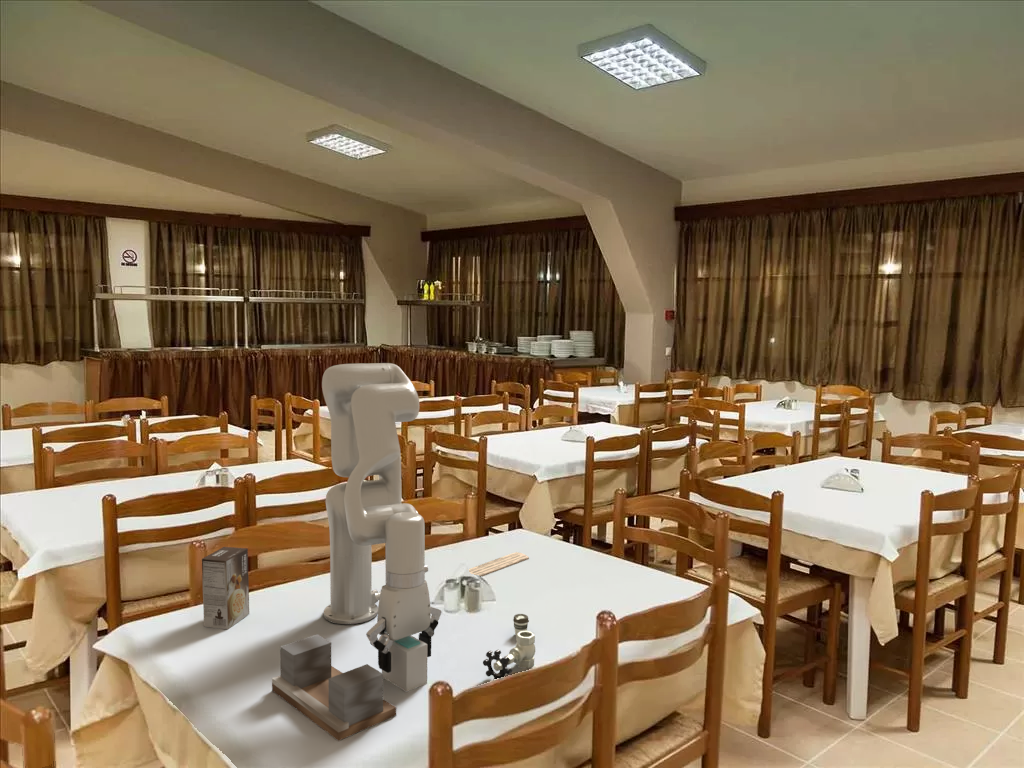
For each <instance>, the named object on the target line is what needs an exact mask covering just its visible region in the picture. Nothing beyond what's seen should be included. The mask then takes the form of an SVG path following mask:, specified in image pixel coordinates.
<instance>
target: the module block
mask: <svg viewBox="0 0 1024 768" xmlns="http://www.w3.org/2000/svg"><path fill="white" fill-rule="evenodd" d="M387 640H388V639H386V641H387ZM386 641H385V642H384V645H385V643H386ZM389 652H391V672H389V673H387V672H385V671H383V670H382V669H381V673H383V679H384V680H386V681H388V682H390V683H391V684H393V685H394V686H397V688H398V689H401V690H403V691H405V692H406V693H407V692H409V691H412V690H414V689H417V688H419V687H421V686H424V685H426V684H428V657H427V644H426V643H424V642H422V641H420V640H419V638H417V637H415V636H412V635H410V636H408V637H405V638H402V639H399V640H396V641H394V642H393V644H392V646H391V647H390V649H389Z"/></svg>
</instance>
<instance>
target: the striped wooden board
mask: <svg viewBox="0 0 1024 768" xmlns="http://www.w3.org/2000/svg"><path fill="white" fill-rule="evenodd" d="M529 559H530V557H529V556H527V555H526V554H524V553H522V552H517V551H516V552H511V553H509V554H506V555H503V556H501V557H498V558H495V559H492V560H490V561H488V562H485V563H481V564H478V565H476V566H473V567H471V568H469V572H470V573H471V574H474V575H479V576H482V577H485V576H488V575H490V574H493V573H495V572H498V571H500V570H504V569H505V568H509V567H511V566H515V565H517V564H519V563H522V562H524V561H528V560H529Z"/></svg>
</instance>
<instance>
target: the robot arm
mask: <svg viewBox="0 0 1024 768" xmlns="http://www.w3.org/2000/svg"><path fill="white" fill-rule="evenodd" d="M321 387H322V394H323V399H324V402H325V404H326V408H327V410H328V412H329V418H330V445H331V446H330V447H331V449H330V450H331V451H330V452H331V455H330V456H331V465H332V466H331V467H332V471H333V472H334V473H335V475H337V476H339V477H342V478H347V481H346V482H344V483H339V484H336V485H334V486H332V487H331V488H329V490H328V491H326V494H325V509H326V514H327V515H326V516H327V520H328V528H329V554H330V555H329V556H330V557H329V558H330V559H329V560H330V565H329V569H330V570H329V571H330V573H329V574H330V576H329V577H330V581H329V582H330V583H329V584H330V586H329V587H330V603H329V604H328V605H327V606H326V607H325V608H324V610H323V618H324V619H326V620H327V621H328V622H331V623H333V624H339V625H354V624H356V625H357V624H361V623H365V622H368V621H370V620H373V619H374V618H376V616H377V619H376V621H377V622H376V623H375V624H374V625H373V626H372V627H371V628H370V629H369V630H368V631H367V632H366V634H365V635H366V637H367V640H368V641H369V643H370V645H371V646H372V647H373V648H375V649H376V650H377V653H378V654H377V661H378V662H377V663H378V668H379V669H380V670H381V671H382V670H383V671H385V672H387V673H389V672H391V652H389V649H390V647H391V646H392V644H393V642H394V641H396V640H399V639H402V638H405V637H408V636H410V635H411V636H412V635H415V634H418V640H420V641H422V642H424V643H426V644H427V658H430V657H431V656H432V637H434V635H435V630H436V628H437V627H438V625H439V620H440V619H441V615H442V610H441V609H438V608H437V607H433V606H431V600H430V597H431V596H430V591H429V586H428V583H427V580H426V576H425V575H426V573H428V572H429V568H428V565H425V563H426V562H425V557H426V556H425V555H426V554H425V549H426V547H425V546H426V545H425V540H426V537H425V534H426V533H425V530H426V529H425V525H426V524H425V520H424V517H423V516H422V515H421V514H419V512H418V510H416V508H415V506H413V505H412V504H410V503H404V502H403V503H402V456H401V445H400V442H399V436H398V430H397V425H396V423H400V422H401V423H403V422H404V423H405V422H413V421H414V420H416V419H417V418H418V416H419V414H420V413H419V412H420V407H421V406H420V399H419V394H418V392H417V390H416V388H415V387H416V386H415V385H414V384H413V382H412V381H411V379H410V378H409V377H408V376H407V375H406V373H405V372H404V371H403V370H402V368H401V367H400V366H398V365H397V364H395V363H391V362H380V363H379V362H378V363H377V362H376V363H375V362H374V363H344V364H343V363H342V364H341V363H340V364H337V365H336V364H335V365H332V366H329V367H328V368H326V369H325V371H324V373H323V375H322V380H321ZM369 476H378V479H373V480H365V479H366V478H367V477H369ZM379 544H380V545H382V544H385V547H384V548H385V584H384V585H382V586H381V589H380V591H379V590H377V589H373V590H372V583H373V582H372V577H373V576H372V573H373V572H372V564H373V563H372V557H373V556H372V553H373V552H372V546H374V545H379ZM378 591H379V592H378ZM376 603H378V605H377V604H376ZM378 635H379V638H378ZM386 639H388V640H387V641H386ZM385 641H386V643H385V645H384V642H385Z"/></svg>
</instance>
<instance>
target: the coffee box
mask: <svg viewBox="0 0 1024 768" xmlns="http://www.w3.org/2000/svg"><path fill="white" fill-rule="evenodd" d="M248 550H249V548H246V547H245V548H243V547H232V546H231V547H230V546H222V547H220V548H219V549H217V550H216V551H214V552H212V553H210V554H208V555H207V556H204V557H203V558H201V572H202V574H201V577H202V600H203V601H202V603H203V605H202V606H203V627H205V628H212V629H222V630H224V629H225V630H229V629H231V628H232V627H234V626H235V625H236V624H238V623H239V622H241V620H243V619H244V618H246V617H247V616H249V615H250V590H249V589H250V588H249V587H250V586H249V584H250V583H249V551H248Z"/></svg>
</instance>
